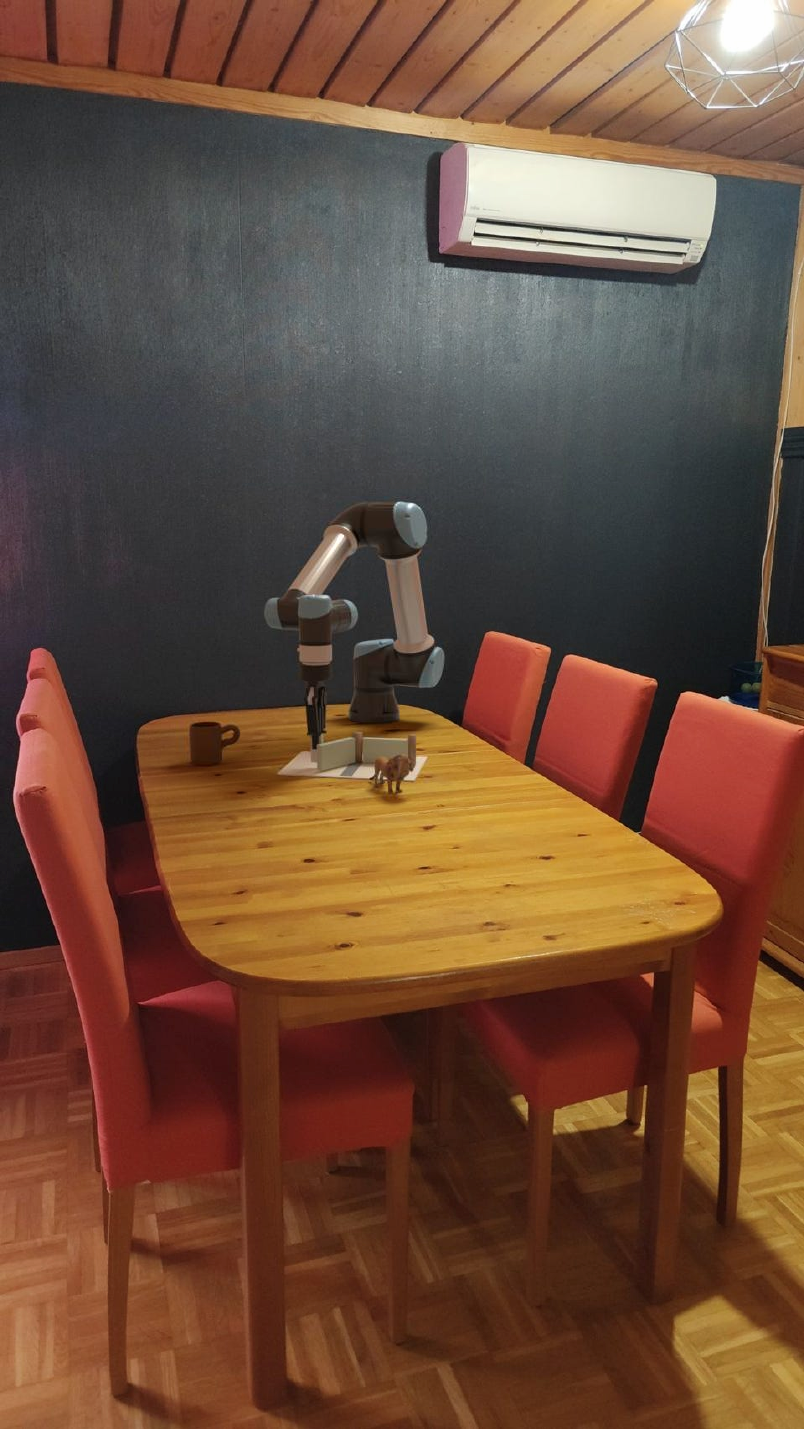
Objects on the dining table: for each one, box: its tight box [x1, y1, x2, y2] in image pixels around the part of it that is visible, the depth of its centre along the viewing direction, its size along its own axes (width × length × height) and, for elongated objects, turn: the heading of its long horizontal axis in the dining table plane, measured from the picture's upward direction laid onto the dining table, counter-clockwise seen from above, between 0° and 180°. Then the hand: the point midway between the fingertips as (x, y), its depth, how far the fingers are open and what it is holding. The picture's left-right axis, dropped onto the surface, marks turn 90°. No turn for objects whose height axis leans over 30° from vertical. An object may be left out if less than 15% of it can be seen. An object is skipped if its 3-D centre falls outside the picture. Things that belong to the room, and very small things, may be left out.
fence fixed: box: [351, 731, 417, 764], centre depth 231 cm, size 2×16×7 cm, turn 81°
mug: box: [188, 721, 241, 767], centre depth 232 cm, size 12×8×9 cm, turn 102°
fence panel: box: [317, 736, 355, 771], centre depth 227 cm, size 2×11×6 cm, turn 137°
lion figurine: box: [369, 754, 416, 796], centre depth 210 cm, size 15×5×9 cm, turn 37°
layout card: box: [276, 750, 429, 783], centre depth 230 cm, size 22×32×1 cm
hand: (317, 761), depth 227 cm, fingers closed
